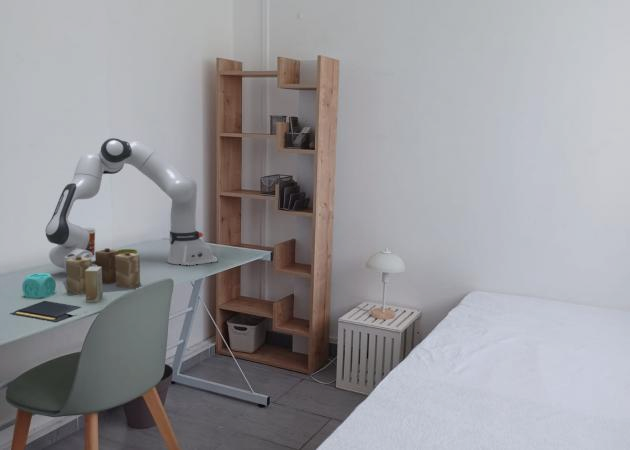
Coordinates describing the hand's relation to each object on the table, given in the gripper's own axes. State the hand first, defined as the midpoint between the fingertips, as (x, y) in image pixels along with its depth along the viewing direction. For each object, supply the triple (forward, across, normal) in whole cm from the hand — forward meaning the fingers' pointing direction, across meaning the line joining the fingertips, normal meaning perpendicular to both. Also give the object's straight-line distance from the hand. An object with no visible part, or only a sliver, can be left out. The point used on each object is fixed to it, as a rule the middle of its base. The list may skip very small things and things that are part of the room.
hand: (107, 265), depth 235 cm
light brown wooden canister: (+2, +15, -6) cm, 17 cm away
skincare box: (+14, +19, -8) cm, 25 cm away
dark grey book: (+10, +35, -8) cm, 37 cm away
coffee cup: (-35, -21, -8) cm, 41 cm away
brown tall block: (+11, 0, -7) cm, 13 cm away
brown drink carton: (0, 0, -6) cm, 7 cm away
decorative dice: (-7, +26, -8) cm, 28 cm away
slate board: (+3, +5, -8) cm, 9 cm away
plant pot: (-9, -18, -8) cm, 22 cm away
